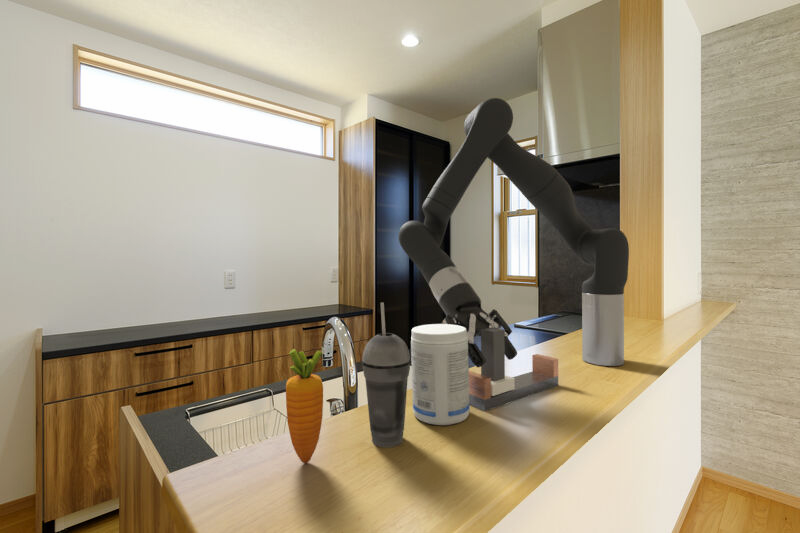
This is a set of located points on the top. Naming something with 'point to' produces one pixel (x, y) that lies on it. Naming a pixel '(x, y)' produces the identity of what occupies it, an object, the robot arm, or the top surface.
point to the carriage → (495, 360)
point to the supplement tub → (440, 373)
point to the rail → (525, 384)
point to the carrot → (304, 405)
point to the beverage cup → (386, 385)
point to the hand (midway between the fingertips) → (498, 360)
